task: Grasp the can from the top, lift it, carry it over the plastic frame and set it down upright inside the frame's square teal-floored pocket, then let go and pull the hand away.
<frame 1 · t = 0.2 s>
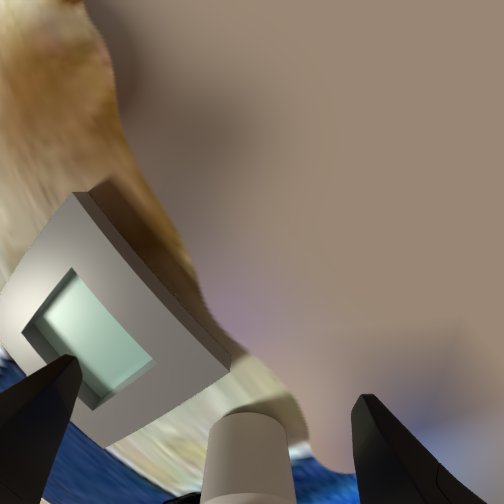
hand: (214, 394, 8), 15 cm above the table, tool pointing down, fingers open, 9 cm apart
can: (247, 432, 27), on the table
pocket frame: (91, 336, 24), on the table
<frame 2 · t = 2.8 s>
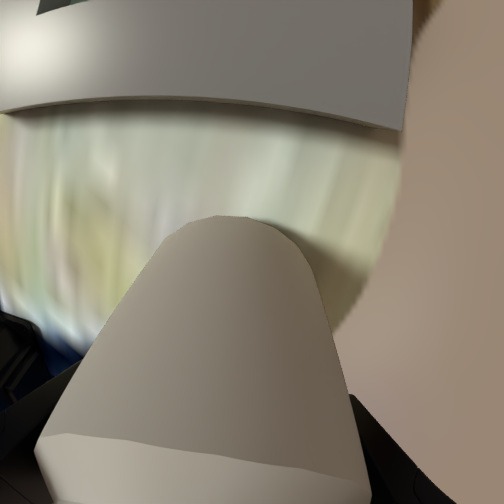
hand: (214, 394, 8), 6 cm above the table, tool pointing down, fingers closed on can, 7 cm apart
can: (231, 286, 14), on the table, touching gripper
when the fingers open (8 cm above the table, at t = 8.2 s): can stays where it is, resting on pocket frame.
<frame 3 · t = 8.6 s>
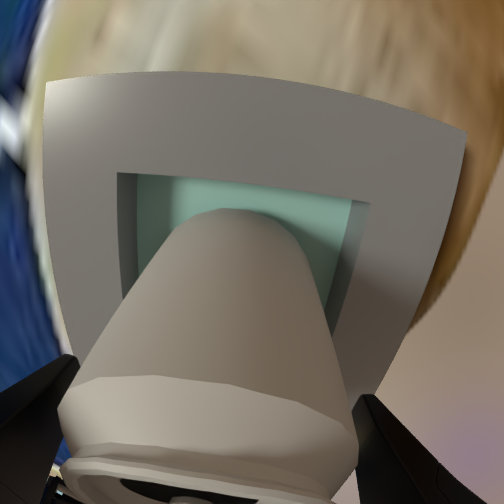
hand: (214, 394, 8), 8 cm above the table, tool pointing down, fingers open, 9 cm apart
can: (233, 274, 15), resting on pocket frame
pocket frame: (233, 272, 15), on the table
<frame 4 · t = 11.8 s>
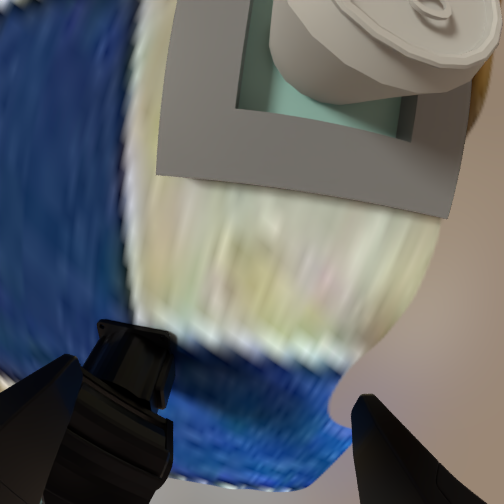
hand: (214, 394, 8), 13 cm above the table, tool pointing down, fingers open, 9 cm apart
can: (329, 49, 15), resting on pocket frame
pocket frame: (330, 48, 15), on the table
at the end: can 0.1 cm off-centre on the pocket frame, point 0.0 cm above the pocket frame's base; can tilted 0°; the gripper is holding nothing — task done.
